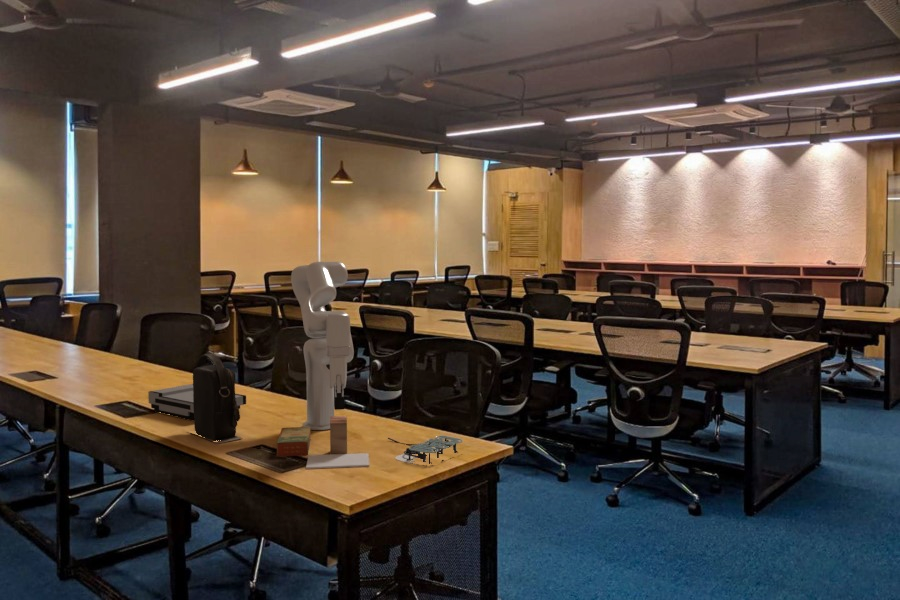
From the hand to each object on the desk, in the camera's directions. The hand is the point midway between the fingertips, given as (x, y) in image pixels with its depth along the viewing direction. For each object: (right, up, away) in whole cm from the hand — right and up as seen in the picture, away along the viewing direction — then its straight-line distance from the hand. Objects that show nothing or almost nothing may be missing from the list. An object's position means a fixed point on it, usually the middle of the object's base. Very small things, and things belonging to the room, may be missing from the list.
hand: (339, 408), depth 229 cm
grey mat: (+2, -13, -16) cm, 21 cm away
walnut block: (+1, -13, -8) cm, 15 cm away
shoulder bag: (-45, -11, +14) cm, 48 cm away
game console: (-62, -9, +48) cm, 79 cm away
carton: (-14, -13, -1) cm, 19 cm away
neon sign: (+24, -13, -5) cm, 28 cm away
